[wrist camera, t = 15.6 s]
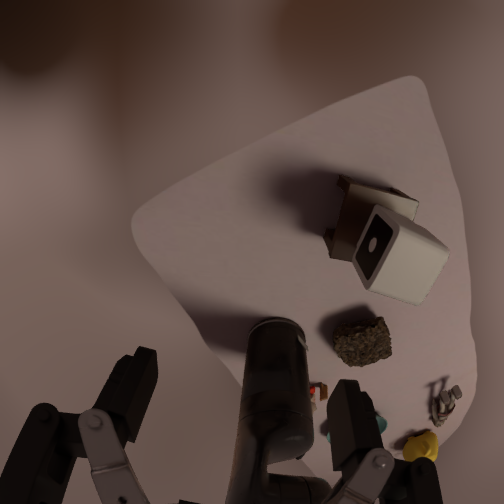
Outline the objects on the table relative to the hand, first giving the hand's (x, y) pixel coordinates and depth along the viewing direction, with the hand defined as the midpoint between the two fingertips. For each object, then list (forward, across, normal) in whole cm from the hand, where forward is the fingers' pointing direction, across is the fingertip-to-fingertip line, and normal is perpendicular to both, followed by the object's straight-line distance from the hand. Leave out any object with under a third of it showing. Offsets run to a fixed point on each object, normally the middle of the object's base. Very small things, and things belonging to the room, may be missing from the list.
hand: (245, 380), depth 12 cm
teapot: (+28, -58, +59) cm, 87 cm away
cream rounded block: (+22, -14, -1) cm, 26 cm away
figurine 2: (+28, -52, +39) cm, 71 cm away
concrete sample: (+28, -20, +19) cm, 40 cm away
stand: (+28, -13, -1) cm, 31 cm away
